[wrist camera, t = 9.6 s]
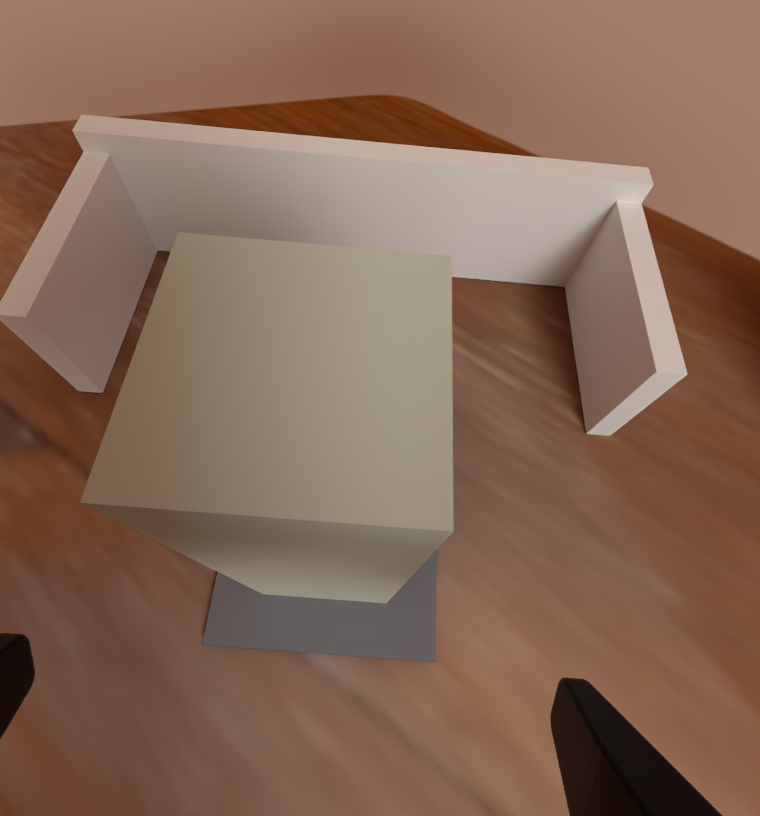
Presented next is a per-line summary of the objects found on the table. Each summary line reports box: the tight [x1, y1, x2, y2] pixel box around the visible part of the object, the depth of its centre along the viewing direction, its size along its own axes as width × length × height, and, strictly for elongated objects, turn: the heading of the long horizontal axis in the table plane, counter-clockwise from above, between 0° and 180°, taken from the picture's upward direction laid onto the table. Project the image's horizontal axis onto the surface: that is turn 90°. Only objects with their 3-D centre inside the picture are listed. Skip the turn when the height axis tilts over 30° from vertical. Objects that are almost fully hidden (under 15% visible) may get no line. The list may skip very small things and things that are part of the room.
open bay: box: [0, 115, 687, 436], centre depth 22 cm, size 11×26×7 cm, turn 86°
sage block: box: [80, 232, 453, 603], centre depth 14 cm, size 5×5×14 cm
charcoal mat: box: [202, 551, 436, 662], centre depth 20 cm, size 9×9×1 cm
